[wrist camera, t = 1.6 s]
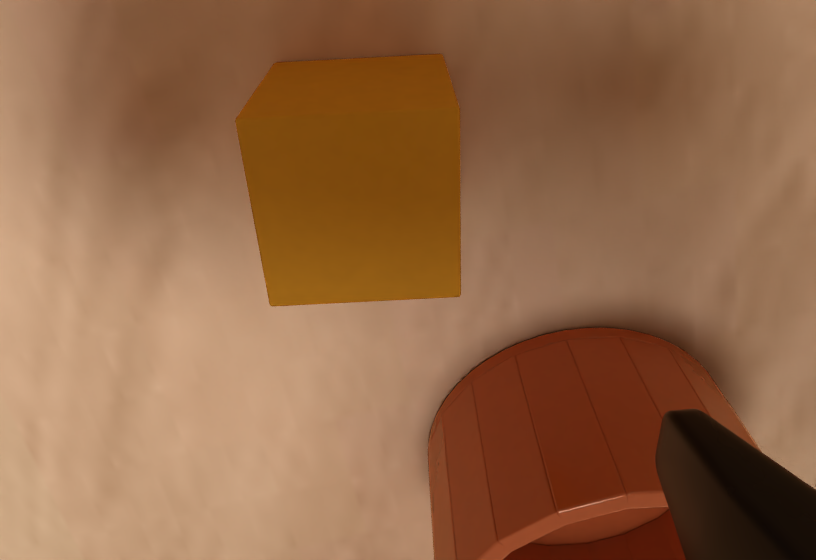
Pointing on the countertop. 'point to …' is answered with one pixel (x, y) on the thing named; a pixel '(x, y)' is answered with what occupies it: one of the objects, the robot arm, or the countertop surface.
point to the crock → (564, 449)
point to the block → (355, 179)
